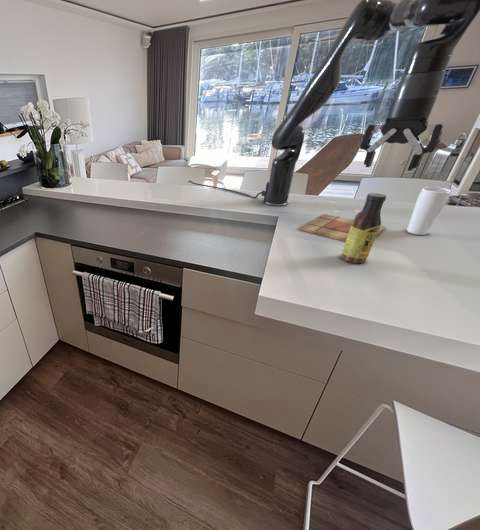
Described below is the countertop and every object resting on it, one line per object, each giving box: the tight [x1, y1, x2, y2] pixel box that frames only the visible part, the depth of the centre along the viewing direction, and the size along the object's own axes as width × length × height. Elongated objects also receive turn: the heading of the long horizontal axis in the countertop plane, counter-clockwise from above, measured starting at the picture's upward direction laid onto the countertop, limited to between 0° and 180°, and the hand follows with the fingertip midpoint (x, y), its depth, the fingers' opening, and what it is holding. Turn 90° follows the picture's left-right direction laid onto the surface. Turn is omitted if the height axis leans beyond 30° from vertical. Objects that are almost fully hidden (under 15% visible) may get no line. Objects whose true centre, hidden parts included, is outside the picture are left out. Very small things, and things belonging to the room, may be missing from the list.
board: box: [299, 213, 386, 242], centre depth 105 cm, size 20×20×1 cm
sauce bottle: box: [341, 192, 387, 264], centre depth 82 cm, size 6×6×20 cm
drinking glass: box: [406, 186, 452, 236], centre depth 96 cm, size 7×7×15 cm
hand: (388, 168), depth 74 cm, fingers open, 8 cm apart
